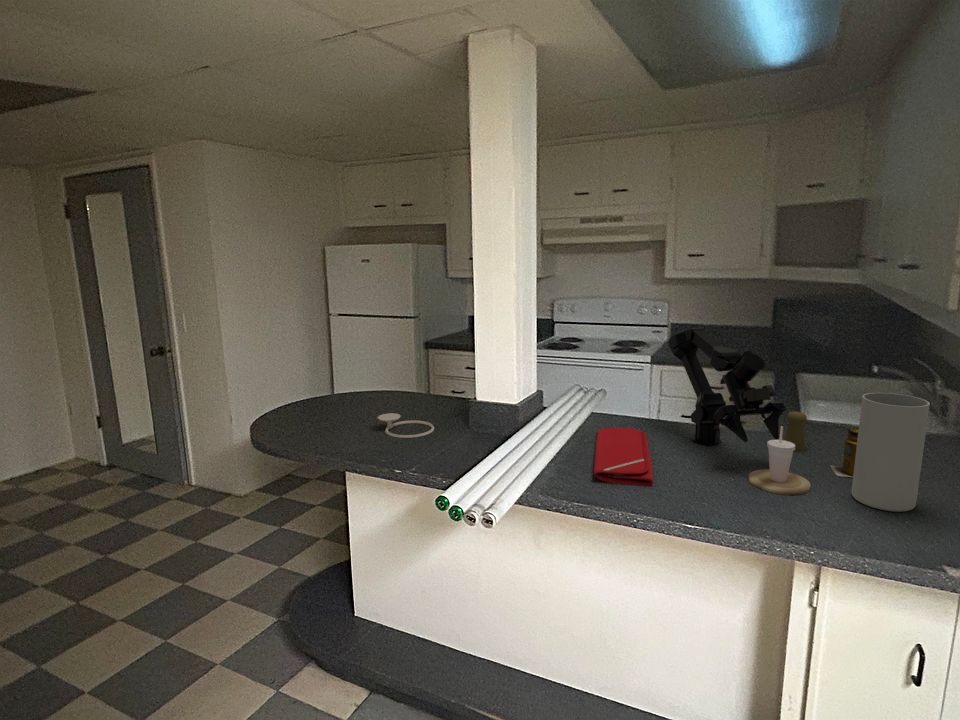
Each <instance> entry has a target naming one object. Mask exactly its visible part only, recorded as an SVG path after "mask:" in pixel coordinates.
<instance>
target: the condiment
mask: <svg viewBox="0 0 960 720" xmlns="http://www.w3.org/2000/svg"><path fill="white" fill-rule="evenodd" d="M858 431H859V427H852V428H849V429H848V430H847V435H846V436H847V438H845V441H844V451H843V457H842V466H838V465H831V464H830V465H829V466H830V468H831V470H832V472H833V473H834V474H835V475H836V477H843V478H844V477H847V478H853V475H854V466H855V457H856V448H857V440H858Z"/></svg>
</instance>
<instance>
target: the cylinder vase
mask: <svg viewBox="0 0 960 720" xmlns="http://www.w3.org/2000/svg"><path fill="white" fill-rule="evenodd" d="M860 405H861V407H860V415H859V424H858V425H859V426H858V428H859V431H858V440H857V448H856V457H855V466H854V475H853V477H852V486H851V495H852V497H853V498H854V499H855V500H856V501H857V502H859V503H860V504H863V505H865V506H868V507H871V508H874V509H878V510H881V511H886V512H887V511H888V512H894V513H895V512H896V513H897V512H898V513H903V512H910V511H912V510H913V509H914V508H916V506H917V499H918V492H919V486H920V485H919V484H920V478H921V470H922V464H923V463H922V462H923V455H924V448H925V441H926V434H927V427H928V419H929V418H928V417H929V412H930V405H931V403H930V401H928V400H926V399H924V398H921V397H917V396H913V395H907V394H901V393H899V394H898V393H891V392H868V393H864V394H863V395H862V397H861V404H860Z"/></svg>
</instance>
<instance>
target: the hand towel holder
mask: <svg viewBox="0 0 960 720" xmlns="http://www.w3.org/2000/svg"><path fill="white" fill-rule="evenodd" d="M401 416H402V415H400V414H399V413H391V412H390V413H389V412H388V413H383V414H381V415H380V414H379V415H378V416H377V419H378V420H379V421H381V422H386V423H387V425H386V428H385V430H384V432H385V434H386V435H388V436H390V437H394V438H401V439H410V438H411V439H412V438H419V437H420V438H421V437H424V436H426V435H430V434H432V433H433V432H434V431H435V426H434V425H433V424H432V423H431V422H428V421H423V420H415V419H414V420H403V421H398V420H399V419H400V418H401ZM395 421H398V422H395ZM393 422H394V423H393ZM407 424H420V425H425V426H429V427H430V428H431V429H429V430H428V431H425V432H422V433H417V434H405V435H404V434H397V433H392V432H390V431H389V430H390V429H393V428H394V427H397V426H400V425H407Z"/></svg>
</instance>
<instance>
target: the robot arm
mask: <svg viewBox="0 0 960 720" xmlns="http://www.w3.org/2000/svg"><path fill="white" fill-rule="evenodd" d="M668 348H669V349H670V351H671V352H672V355H673V356H674V357H675V358H677V359H678V360H680V361H681V362H682V365H683V367H684V370H685V372H686V375H687V376H688V379H689V381H690V384H691V386H692V389H693V391H694V393H695V396H696V402H695V410H694V411H693V412H692V413H691V414H690V419H691V420H690V421H691V422H692V423H694V424H695V430H694V431H695V433H694V438H692V439H691V441H692V442H695V443H698V444H701V445H704V446H705V445H706V446H710V447H711V446H714V445H717V444H719V442H720V443H722V440H721V429H720V425H721V426H724V427H726V428H727V429H728V430H730V431H731V432H732V433H733V434H735V435H736V436H737V437H738V438H739V439H740V440H741V441H742V442H744V443H747V442H748V436H747V434H746V431H745V429H744V427H743V423H742V421H741V417H745V416H756V415H757V416H758V415H760V416H761V418H762V419H764V420H763V421H762V422H763V423H764V425H765V427H767V429H768V432H770V435H772V437H773V438H774V440H779V439H780V429H779V422H780V421H779V420H780V416H781V415H783V414H784V412H786V411H787V407H786V405H785V403H784V402H783V401H780V400H778V401H769V400H772V398H773V397H775V396H776V392H775V389H774V387H773V385H772V384H769V385H768V384H767V385H763V386H762V387H759V388H756V387H752V386H751V385H750V383H749V382H751V381H753V380H754V378H756V377H757V376H758V375H759V374H760V373H761V372H762V371H763V370H764V369H765V368H766V367H765V366H766V364H765V361H764V359H763V358H761V356H759V355H757V354H755V353H753V351H752V350H745V351H743V353H742V354H741V353H740V352H739V351H738V350H737V349H733V348H729V347H727V346H726V347H725V346H724V345H721V344H720V343H719V342H718V341H717V340H715V338H713V337H712V336H711V335H709V334H708V333H707V332H706V330H705V329H704V328H701V327H694V328H693V327H692V328H688V329H686V330H684V331H682V332H679V333H677V334H674V335H673V334H672V336H671V337H670V338H669V340H668ZM698 350H700V351H701V352H703V353H704V354H705V355H706V356H708V358H709V364H711V366H712V367H713V369H714V370H715V371H716V372H727V373H725V374H722V377H721V379H720V381H719V383H720V385H725V386H726V389H727V391H728V392H729V395H730V396H729V398H728V399H729V402H733V404H727V402H726V401H725V399H724V397H723V395H722V393H721V392H714V391H713V390H712V386H711V384H710V382H709V380H708V378H707V376H706V373H705V371H704V369H703V367H702V364H701V362H700V360H699V358H698V356H697V354H698ZM767 400H768V401H769V402H768V403H767V404H765V406H762V405H763V404H764V401H767Z"/></svg>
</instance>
